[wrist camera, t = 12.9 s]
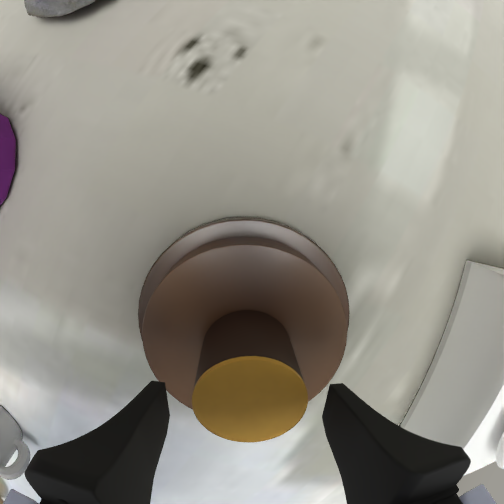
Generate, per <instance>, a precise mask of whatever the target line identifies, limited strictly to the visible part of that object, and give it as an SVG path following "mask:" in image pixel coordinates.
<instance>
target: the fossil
mask: <svg viewBox="0 0 504 504" xmlns="http://www.w3.org/2000/svg"><path fill="white" fill-rule="evenodd" d="M94 1H96V0H25V7H26V9H27V13H28V15H30V16H31V15H32V16H36V17H57V16H64V15H67V14H70V13H72V12H74V11H76V10H78V9H80V8H82V7H85V6H88V5H90V4H92V3H93V2H94Z"/></svg>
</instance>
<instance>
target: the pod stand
mask: <svg viewBox="0 0 504 504" xmlns="http://www.w3.org/2000/svg"><path fill="white" fill-rule="evenodd" d="M242 310H253V311H259V312H263V313H265V314H268V315H270V316H272V317H274V318H275V319H276V320H278V321H279V322H280V323H281V324H282V325H283V326H284V328H285V329H286V331H287V332H288V335H289V337H290V340H291V343H292V346H293V349H294V352H295V355H296V358H297V361H298V365H299V368H300V371H301V374H302V377H303V380H304V383H305V386H306V389H307V393H308V401H310V400H311V399H312V398H314V397H315V396H316V395H317V394H318V393H320V392H321V390H322V389H323V388H324V387H325V386H326V385H327V384H328V383H329V381H330V380H331V379H332V377H333V376H334V374H335V372H336V371H337V369H338V367H339V365H340V363H341V360H342V357H343V355H344V351H345V346H346V340H347V330H348V325H349V301H348V296H347V292H346V288H345V285H344V282H343V280H342V277H341V275H340V273H339V271H338V270H337V268H336V266H335V264H334V263H333V262H332V261H331V259H330V258H329V257H328V255H327V254H326V253H325V252H324V251H323V250H322V249H321V248H320V247H319V246H318V245H317V244H315V243H314V242H313V241H312V240H310V239H309V238H307V237H306V236H304V235H303V234H302V233H300V232H298V231H296V230H294V229H292V228H291V227H289V226H286V225H283V224H281V223H278V222H275V221H271V220H266V219H261V218H251V217H238V218H227V219H222V220H217V221H213V222H210V223H207V224H205V225H202V226H199V227H197V228H195V229H194V230H192V231H190V232H188V233H186V234H185V235H183V236H182V237H181V238H179V239H178V240H176V241H175V242H174V243H173V244H172V245H171V246H170V247H169V248H168V249H167V250H166V251H164V252H163V253H162V255H161V256H160V257H159V258H158V260H157V261H156V262H155V263H154V265H153V266H152V268H151V270H150V272H149V273H148V275H147V277H146V280H145V282H144V285H143V287H142V291H141V295H140V300H139V309H138V319H139V328H140V333H141V337H142V341H143V346H144V351H145V355H146V358H147V361H148V363H149V366H150V368H151V370H152V371H153V373H154V375H155V377H156V378H157V379H158V381H159V382H165V386H166V390H167V391H168V392H169V393H170V394H171V395H172V396H173V397H174V398H176V399H177V400H178V401H179V402H181V403H183V404H184V405H186V406H187V407H189V408H191V409H193V408H192V394H193V389H194V384H195V379H196V374H197V369H198V364H199V359H200V354H201V349H202V344H203V340H204V337H205V334H206V332H207V331H208V329H209V328H210V326H211V325H212V324H213V323H214V322H215V321H216V320H218V319H219V318H221V317H222V316H224V315H226V314H229V313H232V312H236V311H242Z"/></svg>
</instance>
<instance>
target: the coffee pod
mask: <svg viewBox="0 0 504 504" xmlns="http://www.w3.org/2000/svg"><path fill="white" fill-rule="evenodd" d="M307 404H308V393H307V389H306V386H305V383H304V380H303V377H302V374H301V371H300V368H299V365H298V361H297V358H296V355H295V352H294V349H293V346H292V343H291V340H290V337H289V335H288V332H287V331H286V329H285V328H284V326H283V325H282V324H281V323H280V322H279V321H278V320H276V319H275V318H274V317H272V316H270V315H268V314H265V313H263V312H259V311H253V310H242V311H236V312H232V313H229V314H226V315H224V316H222V317H221V318H219V319H218V320H216V321H215V322H214V323H213V324H212V325H211V326H210V328H209V329H208V331H207V332H206V334H205V337H204V340H203V344H202V349H201V354H200V359H199V364H198V369H197V374H196V379H195V384H194V389H193V394H192V408H193V411H194V413H195V415H196V417H197V419H198V420H199V422H200V423H201V424H202V425H203V426H204V427H205V428H206V429H207V430H209V431H210V432H212V433H213V434H215V435H217V436H219V437H222V438H225V439H228V440H232V441H238V442H259V441H265V440H269V439H272V438H275V437H277V436H280V435H282V434H284V433H285V432H287V431H289V430H290V429H291V428H293V427H294V426H295V425H296V424H297V423H298V422H299V421H300V419H301V418H302V417H303V415H304V413H305V411H306V408H307Z"/></svg>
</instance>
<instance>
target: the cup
mask: <svg viewBox="0 0 504 504" xmlns="http://www.w3.org/2000/svg"><path fill="white" fill-rule="evenodd" d="M16 449H17V450H18V457H17V459H16V461H15V462H14V463H13V464H12V465H10V466H9V467H5V466H6V464H7V463H8V461H9V460H10V458H11V457H12V455H13V454H14V452H15V451H16ZM29 461H30V451H29V449H28V446H27V445H26V444H25V443H24V442H23V441H22V432H21V430H20V428H19V426H18V424H17V423H16V421H15V420H14V419H13V417H12V416H11V415H10V414H9V413H8V412H7V411H6V410H5V409H4V408H3V407H2V406H0V477H2V478H4V479H7V480H11V479H16V478H18V477H20V476H21V475H22V474H23V473H24V472H25V470H26V468H27V467H28V464H29Z"/></svg>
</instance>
